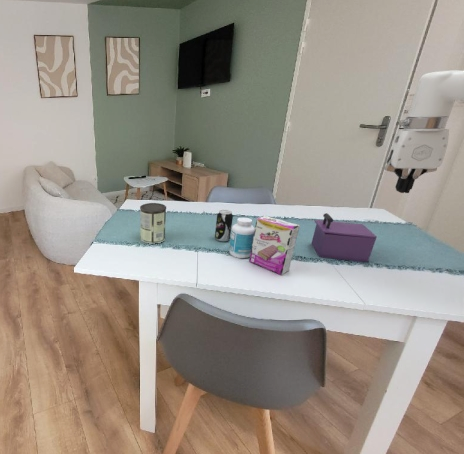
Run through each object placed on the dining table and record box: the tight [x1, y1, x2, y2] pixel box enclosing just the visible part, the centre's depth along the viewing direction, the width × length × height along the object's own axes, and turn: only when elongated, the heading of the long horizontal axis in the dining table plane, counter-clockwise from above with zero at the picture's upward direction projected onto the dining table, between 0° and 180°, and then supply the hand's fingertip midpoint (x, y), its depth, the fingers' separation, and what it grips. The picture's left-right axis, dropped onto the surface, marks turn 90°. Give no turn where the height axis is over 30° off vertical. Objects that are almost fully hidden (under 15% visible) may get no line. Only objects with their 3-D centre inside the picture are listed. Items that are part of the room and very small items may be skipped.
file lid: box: [314, 212, 378, 239], centre depth 99 cm, size 14×11×4 cm
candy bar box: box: [248, 214, 301, 276], centre depth 94 cm, size 11×5×16 cm, turn 34°
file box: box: [311, 223, 377, 263], centre depth 101 cm, size 14×11×9 cm
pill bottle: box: [228, 216, 255, 259], centre depth 103 cm, size 8×7×14 cm
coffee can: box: [139, 202, 167, 245], centre depth 118 cm, size 10×10×14 cm
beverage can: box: [214, 209, 234, 243], centre depth 115 cm, size 6×6×12 cm
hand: (402, 191), depth 83 cm, fingers closed
